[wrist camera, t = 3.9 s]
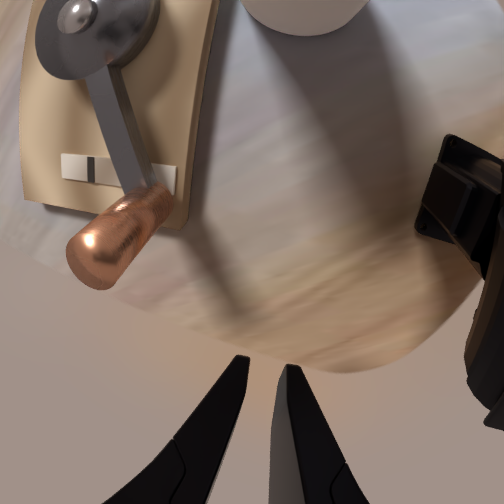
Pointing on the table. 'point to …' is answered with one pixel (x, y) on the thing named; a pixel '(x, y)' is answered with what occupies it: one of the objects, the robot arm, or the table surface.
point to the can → (304, 14)
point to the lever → (107, 124)
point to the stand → (144, 107)
